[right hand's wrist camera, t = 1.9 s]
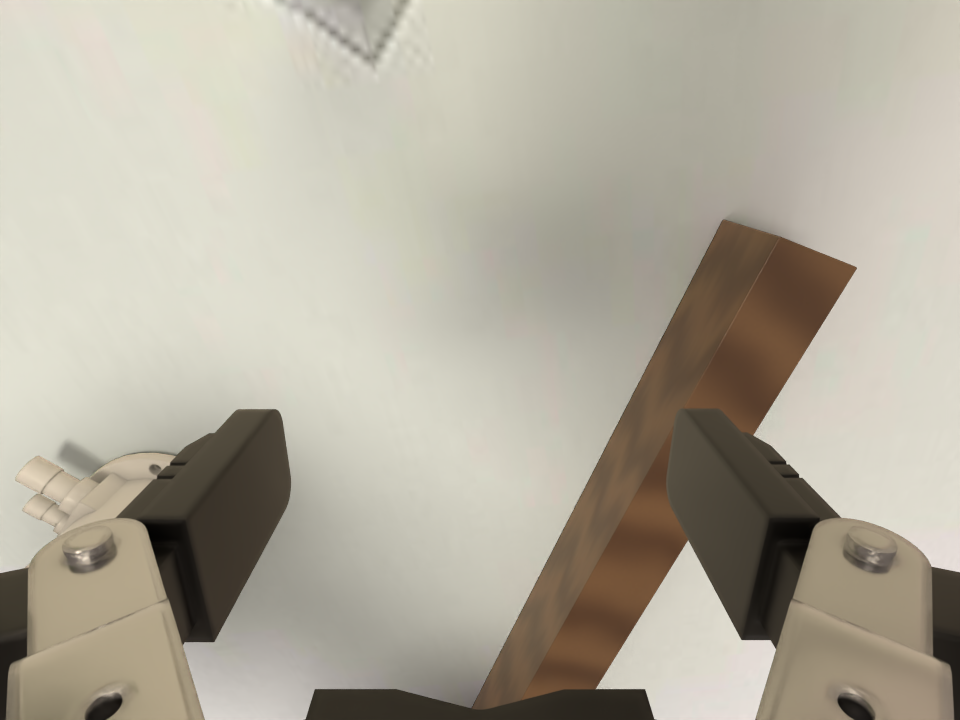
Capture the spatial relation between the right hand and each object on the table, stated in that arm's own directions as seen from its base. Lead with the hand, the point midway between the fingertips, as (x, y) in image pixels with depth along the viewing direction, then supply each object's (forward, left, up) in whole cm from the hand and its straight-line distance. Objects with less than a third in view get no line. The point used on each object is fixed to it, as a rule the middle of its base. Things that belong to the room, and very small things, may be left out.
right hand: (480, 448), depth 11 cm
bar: (+1, +24, -24) cm, 35 cm away
